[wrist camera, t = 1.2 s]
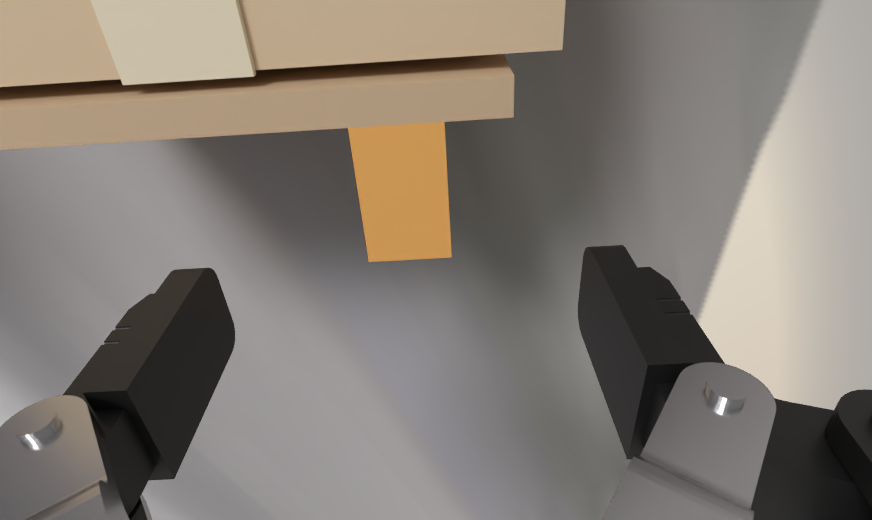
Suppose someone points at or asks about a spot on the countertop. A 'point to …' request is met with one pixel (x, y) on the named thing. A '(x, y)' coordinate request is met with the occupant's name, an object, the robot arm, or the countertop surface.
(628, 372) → the robot arm
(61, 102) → the flap
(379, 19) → the carton
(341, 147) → the countertop surface
